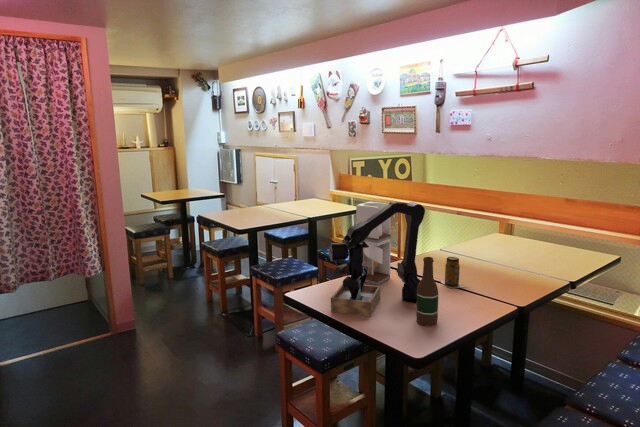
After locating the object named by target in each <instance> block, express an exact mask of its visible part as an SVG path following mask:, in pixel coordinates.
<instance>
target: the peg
mask: <svg viewBox="0 0 640 427" xmlns="http://www.w3.org/2000/svg"><path fill="white" fill-rule="evenodd" d="M356 300H361V287H360V289H359V292H358V295H357V298H356Z"/></svg>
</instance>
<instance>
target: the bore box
mask: <svg viewBox="0 0 640 427" xmlns="http://www.w3.org/2000/svg"><path fill="white" fill-rule="evenodd" d="M380 300H381V285H370V284H364V285H363V288H362V290H361V300H352V296H351V293H350V290H349V288H348V287H344V286H343V283H341V285H340V286H339V287H338V288H337V290H336V291H335V292H334V293H333V294H332V296H331V297H330V312H332V313H338V312H340V313H339V314H347V313H349V314H348V315H355V314H356V315H358V316H363V317H364V316H365V317H372V315H373V313H374V312H375V310H376V308H377V306H378V305H379V302H380Z"/></svg>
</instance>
